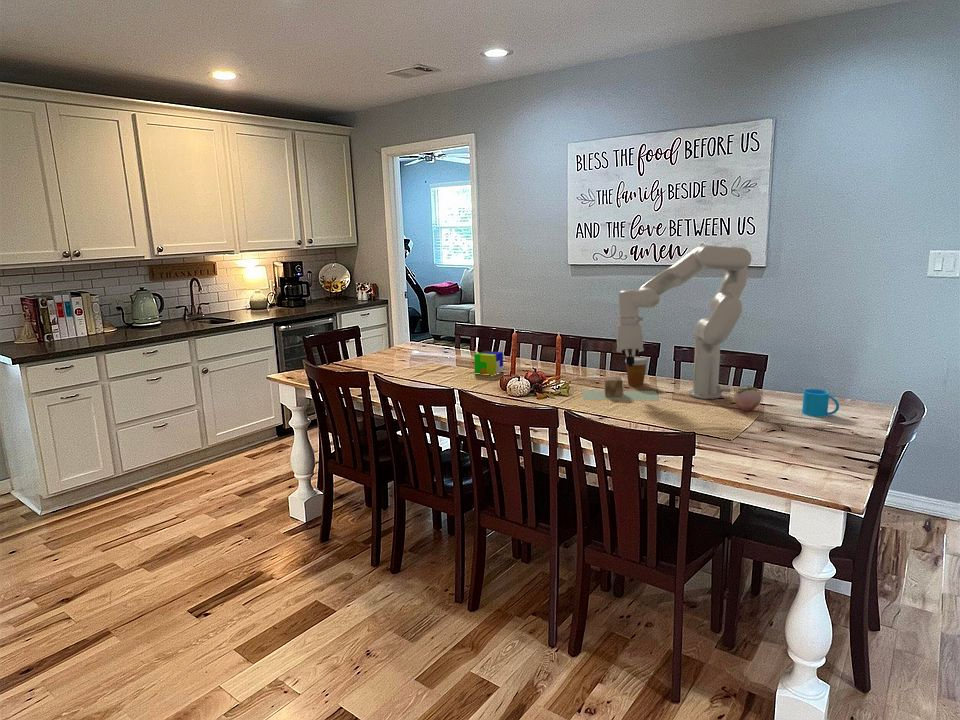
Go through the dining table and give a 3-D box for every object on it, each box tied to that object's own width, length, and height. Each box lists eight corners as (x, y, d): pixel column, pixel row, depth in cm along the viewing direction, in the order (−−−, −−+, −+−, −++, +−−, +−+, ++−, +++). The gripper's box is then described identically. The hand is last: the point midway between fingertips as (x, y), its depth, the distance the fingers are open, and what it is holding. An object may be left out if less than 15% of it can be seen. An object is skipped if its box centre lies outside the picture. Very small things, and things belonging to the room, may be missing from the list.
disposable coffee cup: (624, 387, 276) (624, 360, 273) (624, 382, 285) (625, 356, 283) (647, 388, 274) (647, 360, 271) (646, 383, 283) (647, 356, 280)
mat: (655, 392, 267) (655, 391, 267) (660, 401, 253) (660, 400, 252) (582, 391, 271) (582, 390, 271) (582, 400, 257) (582, 399, 257)
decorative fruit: (747, 407, 242) (749, 381, 240) (764, 412, 234) (765, 386, 232) (727, 410, 238) (729, 384, 236) (743, 416, 231) (745, 389, 229)
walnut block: (622, 376, 264) (604, 376, 265) (623, 380, 257) (605, 380, 258) (621, 393, 265) (604, 392, 266) (623, 397, 258) (605, 397, 259)
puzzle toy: (503, 372, 311) (502, 352, 309) (492, 376, 302) (492, 355, 301) (485, 370, 316) (485, 350, 314) (474, 374, 308) (474, 354, 306)
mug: (798, 413, 232) (799, 391, 231) (807, 409, 238) (809, 387, 236) (833, 420, 224) (835, 397, 222) (842, 415, 229) (844, 393, 227)
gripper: (647, 318, 258) (648, 363, 261) (609, 320, 260) (611, 364, 264) (649, 321, 251) (650, 367, 254) (610, 323, 253) (612, 368, 257)
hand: (630, 365), depth 259 cm, fingers closed
